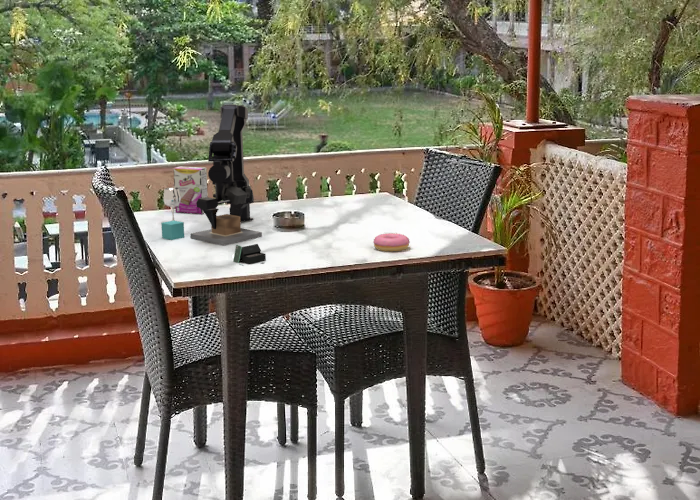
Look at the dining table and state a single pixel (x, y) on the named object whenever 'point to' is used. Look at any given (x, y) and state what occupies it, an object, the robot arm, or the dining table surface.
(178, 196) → the wineglass
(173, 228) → the teal block
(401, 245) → the doughnut
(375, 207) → the dining table surface
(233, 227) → the walnut block
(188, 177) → the candy bar box
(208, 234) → the base plate
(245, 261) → the dark stepped block
